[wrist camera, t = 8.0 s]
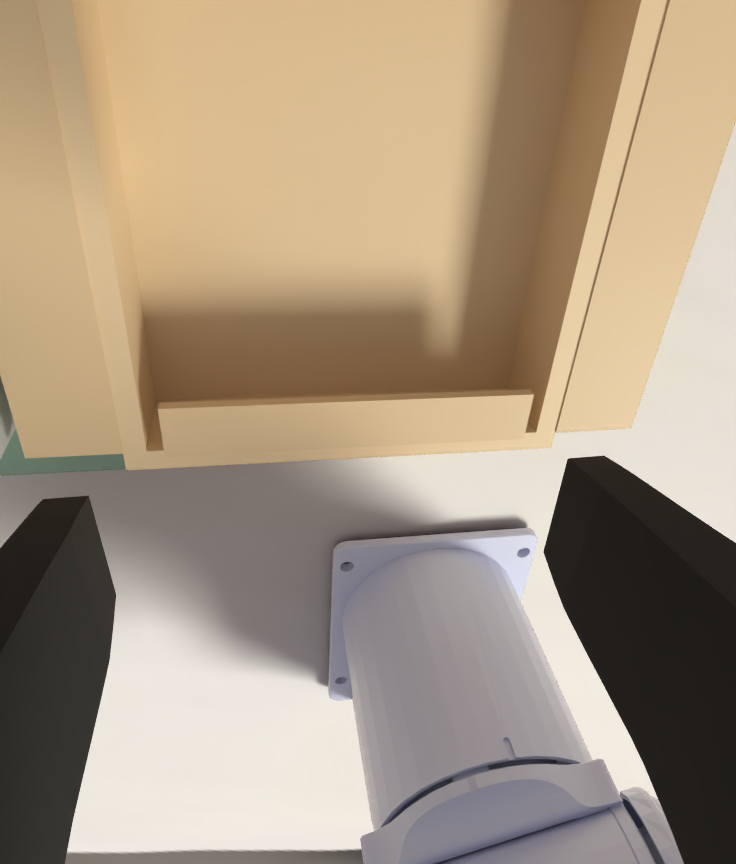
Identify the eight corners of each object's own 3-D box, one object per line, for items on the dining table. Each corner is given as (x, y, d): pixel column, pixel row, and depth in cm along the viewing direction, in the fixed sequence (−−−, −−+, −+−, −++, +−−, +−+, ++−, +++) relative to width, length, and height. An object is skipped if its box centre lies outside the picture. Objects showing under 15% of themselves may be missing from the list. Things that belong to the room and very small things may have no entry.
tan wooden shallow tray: (582, 393, 22) (629, 449, 20) (56, 414, 20) (27, 482, 17) (737, -157, 14) (849, -187, 12) (-113, -255, 12) (-217, -322, 9)
